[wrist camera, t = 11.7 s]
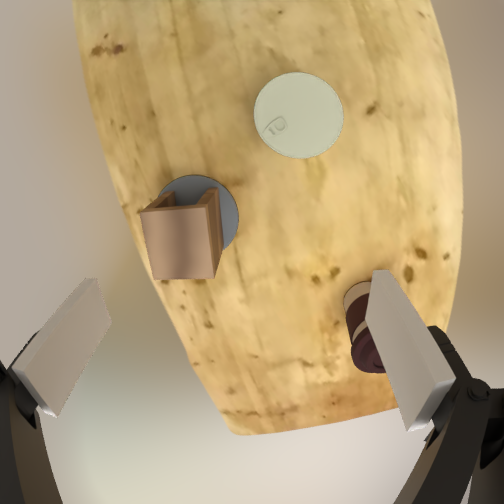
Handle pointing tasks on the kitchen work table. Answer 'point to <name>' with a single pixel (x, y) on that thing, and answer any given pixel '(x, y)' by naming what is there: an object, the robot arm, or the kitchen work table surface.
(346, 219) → the kitchen work table surface
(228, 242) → the rubber mat
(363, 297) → the coffee cup
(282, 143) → the can
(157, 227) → the wooden stool
